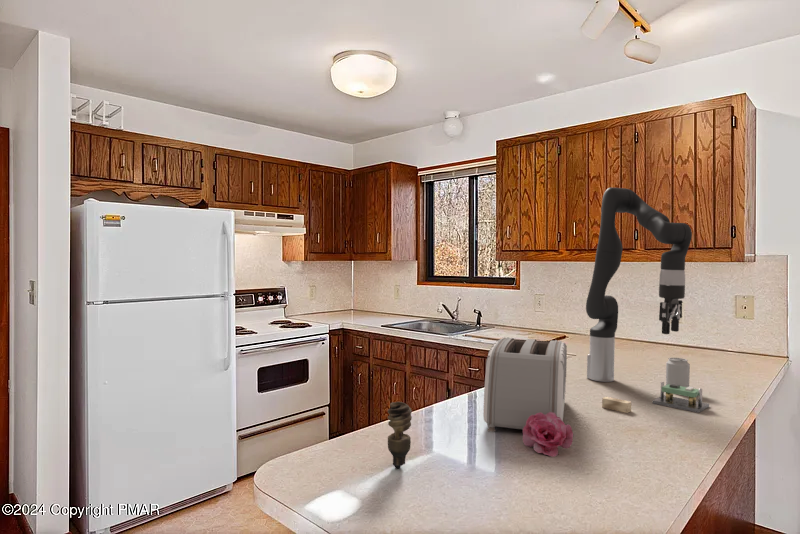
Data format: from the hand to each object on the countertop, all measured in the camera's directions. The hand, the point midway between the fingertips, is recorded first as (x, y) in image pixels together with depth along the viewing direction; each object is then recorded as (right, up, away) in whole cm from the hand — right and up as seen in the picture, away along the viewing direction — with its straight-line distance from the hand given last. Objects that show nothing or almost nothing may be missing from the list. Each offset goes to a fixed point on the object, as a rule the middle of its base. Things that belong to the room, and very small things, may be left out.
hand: (670, 332), depth 172 cm
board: (+3, -20, 0) cm, 20 cm away
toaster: (-49, -24, -11) cm, 56 cm away
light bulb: (-89, -24, -54) cm, 107 cm away
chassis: (+3, -24, 0) cm, 24 cm away
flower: (-52, -24, -42) cm, 71 cm away
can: (+12, -24, +17) cm, 32 cm away
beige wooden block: (-20, -24, -6) cm, 32 cm away
